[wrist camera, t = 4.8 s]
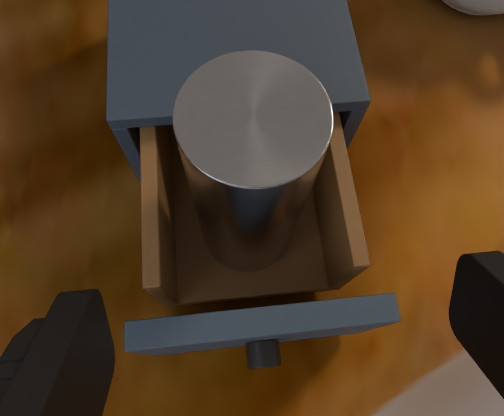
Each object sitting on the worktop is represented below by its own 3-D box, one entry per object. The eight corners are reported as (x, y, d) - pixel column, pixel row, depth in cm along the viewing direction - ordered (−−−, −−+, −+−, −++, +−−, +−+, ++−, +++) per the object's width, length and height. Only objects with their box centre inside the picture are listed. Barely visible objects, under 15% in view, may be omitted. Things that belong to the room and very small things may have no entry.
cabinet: (334, 176, 28) (371, 100, 20) (144, 192, 27) (105, 120, 19) (301, 9, 33) (321, -104, 25) (141, 19, 32) (109, -95, 24)
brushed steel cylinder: (253, 291, 23) (267, 222, 12) (184, 234, 24) (137, 122, 13) (308, 222, 25) (365, 105, 14) (241, 172, 26) (242, 24, 15)
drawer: (362, 355, 23) (408, 351, 17) (156, 379, 23) (124, 384, 16) (319, 127, 29) (342, 59, 22) (150, 140, 28) (123, 73, 21)
